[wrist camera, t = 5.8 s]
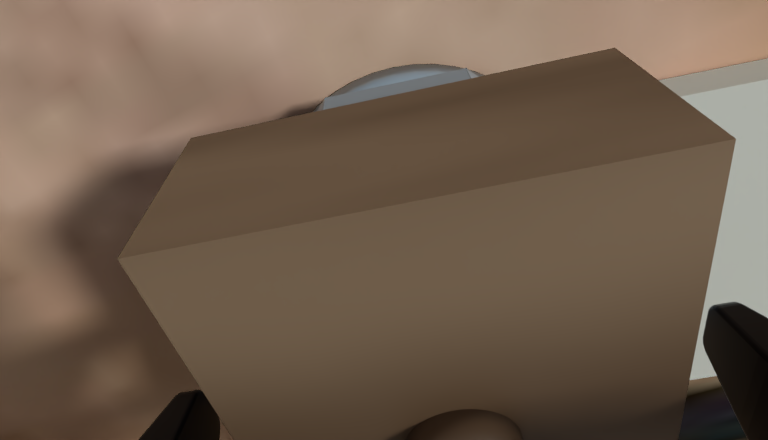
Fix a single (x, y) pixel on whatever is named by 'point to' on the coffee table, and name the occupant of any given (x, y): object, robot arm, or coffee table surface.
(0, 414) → the coffee table surface
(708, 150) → the lid
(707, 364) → the mat
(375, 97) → the bowl
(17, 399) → the coffee table surface
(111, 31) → the coffee table surface
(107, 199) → the coffee table surface
